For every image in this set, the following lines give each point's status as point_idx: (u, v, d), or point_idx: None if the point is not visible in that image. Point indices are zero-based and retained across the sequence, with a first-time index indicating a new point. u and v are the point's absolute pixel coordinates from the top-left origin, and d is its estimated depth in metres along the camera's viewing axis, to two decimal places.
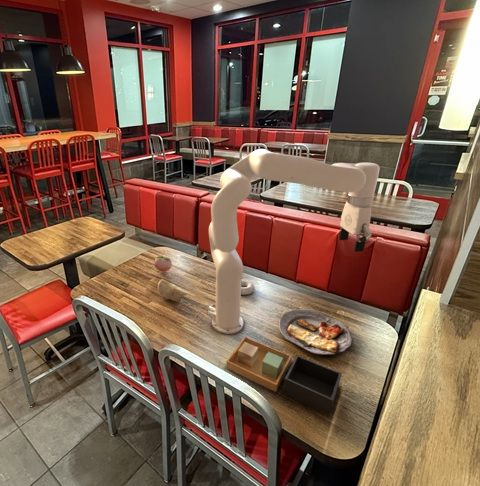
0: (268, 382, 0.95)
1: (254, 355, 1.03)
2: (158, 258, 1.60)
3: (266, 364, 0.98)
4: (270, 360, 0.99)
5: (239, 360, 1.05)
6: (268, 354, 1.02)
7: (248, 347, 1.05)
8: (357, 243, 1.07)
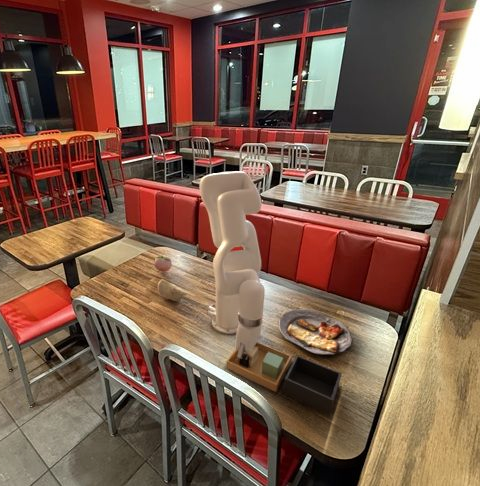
0: (268, 382, 0.95)
1: (254, 355, 1.03)
2: (158, 258, 1.60)
3: (266, 364, 0.98)
4: (270, 360, 0.99)
5: None
6: (268, 354, 1.02)
7: None
8: None
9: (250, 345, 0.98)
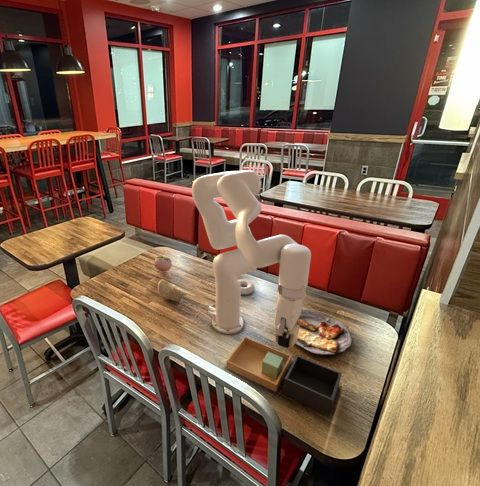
0: (268, 382, 0.95)
1: (295, 334, 0.89)
2: (158, 258, 1.60)
3: (266, 364, 0.98)
4: (270, 360, 0.99)
5: (277, 340, 0.92)
6: (268, 354, 1.02)
7: None
8: (279, 336, 0.90)
9: (293, 320, 0.84)
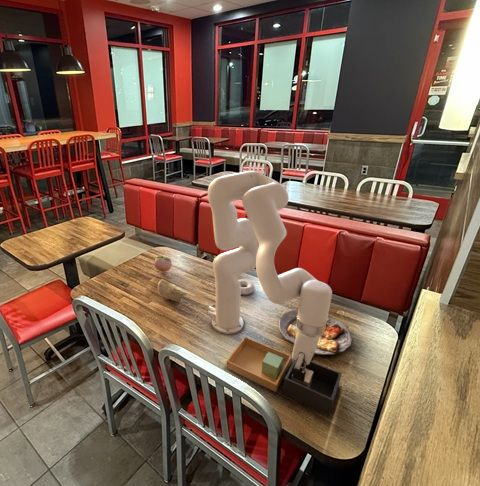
0: (268, 382, 0.95)
1: (310, 381, 0.93)
2: (158, 258, 1.60)
3: (266, 364, 0.98)
4: (270, 360, 0.99)
5: None
6: (268, 354, 1.02)
7: None
8: (295, 370, 0.89)
9: (311, 355, 0.85)
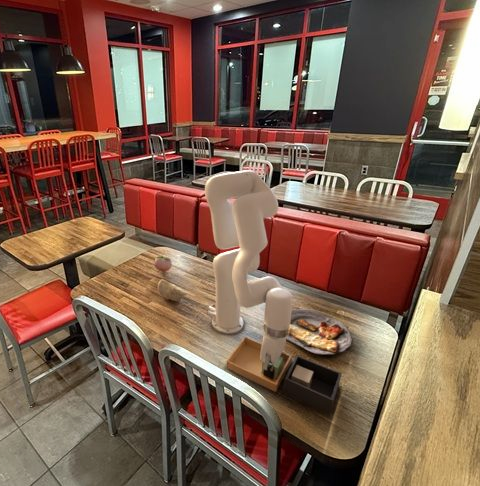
0: (268, 382, 0.95)
1: (310, 381, 0.93)
2: (158, 258, 1.60)
3: None
4: None
5: None
6: None
7: (302, 372, 0.94)
8: None
9: (276, 356, 0.93)
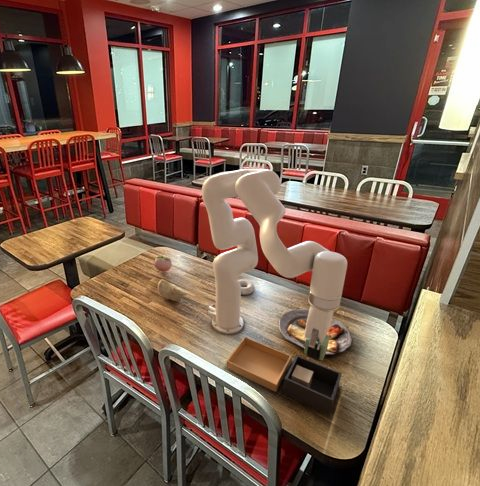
0: (268, 382, 0.95)
1: (310, 381, 0.93)
2: (158, 258, 1.60)
3: None
4: None
5: None
6: None
7: (302, 372, 0.94)
8: (309, 347, 0.85)
9: (325, 332, 0.80)
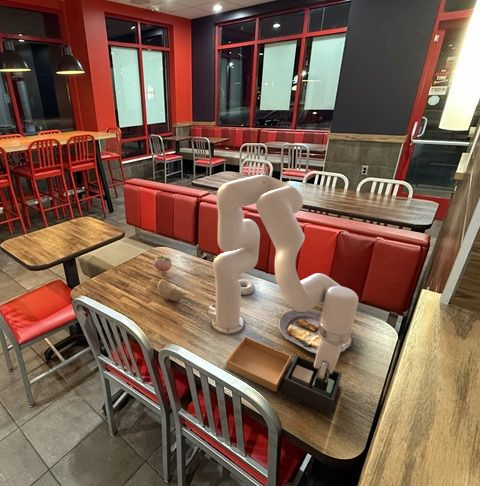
0: (268, 382, 0.95)
1: (310, 381, 0.93)
2: (158, 258, 1.60)
3: (317, 388, 0.90)
4: None
5: None
6: None
7: (302, 372, 0.94)
8: (317, 379, 0.85)
9: (335, 364, 0.82)
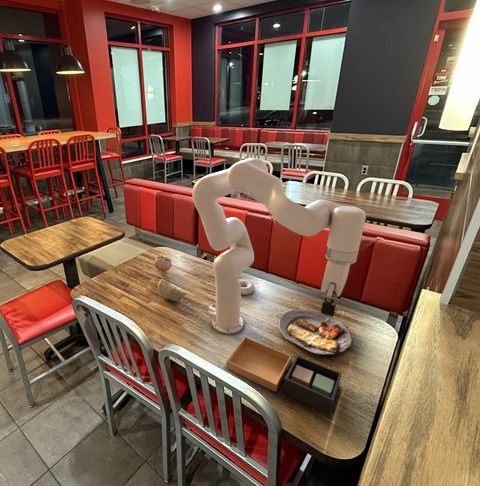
0: (268, 382, 0.95)
1: (310, 381, 0.93)
2: (158, 258, 1.60)
3: (317, 388, 0.90)
4: (320, 384, 0.90)
5: None
6: (317, 376, 0.93)
7: (302, 372, 0.94)
8: (324, 304, 0.85)
9: (342, 285, 0.82)
